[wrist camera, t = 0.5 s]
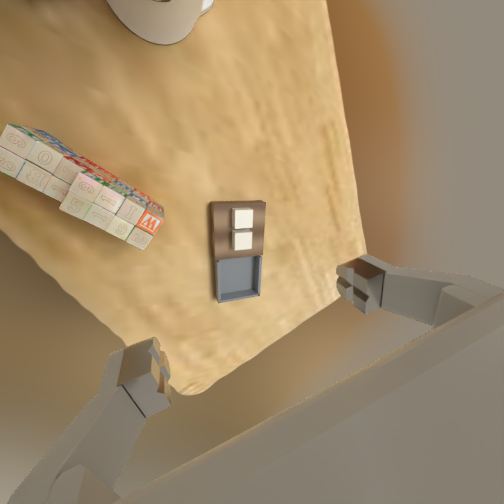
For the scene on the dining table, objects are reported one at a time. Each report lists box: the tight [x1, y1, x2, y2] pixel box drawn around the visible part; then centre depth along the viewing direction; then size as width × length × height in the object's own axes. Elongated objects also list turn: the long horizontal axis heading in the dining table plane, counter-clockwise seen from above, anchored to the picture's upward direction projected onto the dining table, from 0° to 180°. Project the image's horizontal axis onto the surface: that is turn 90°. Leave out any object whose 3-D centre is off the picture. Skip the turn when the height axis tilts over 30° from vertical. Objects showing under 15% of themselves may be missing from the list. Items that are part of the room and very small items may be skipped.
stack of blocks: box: [0, 124, 164, 250], centre depth 36 cm, size 21×6×12 cm, turn 51°
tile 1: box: [232, 229, 252, 250], centre depth 50 cm, size 4×4×2 cm
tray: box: [214, 255, 262, 303], centre depth 56 cm, size 11×11×4 cm
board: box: [211, 200, 266, 260], centre depth 52 cm, size 13×12×3 cm
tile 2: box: [232, 207, 253, 229], centre depth 48 cm, size 4×4×2 cm
